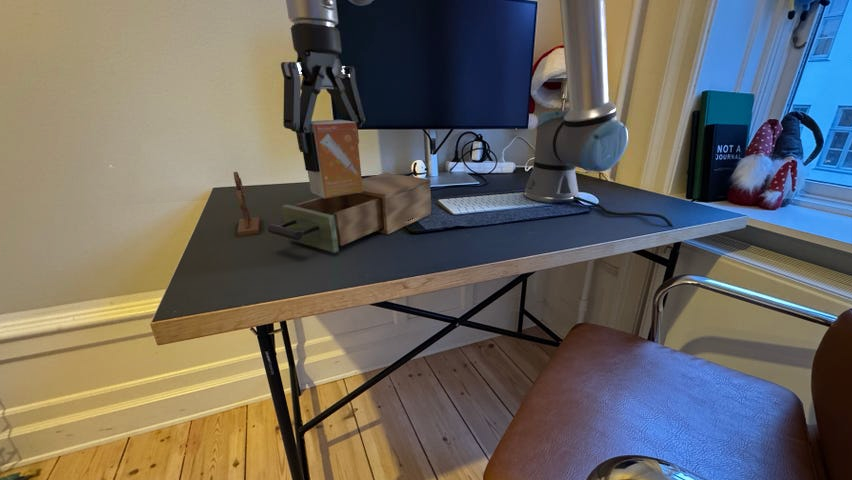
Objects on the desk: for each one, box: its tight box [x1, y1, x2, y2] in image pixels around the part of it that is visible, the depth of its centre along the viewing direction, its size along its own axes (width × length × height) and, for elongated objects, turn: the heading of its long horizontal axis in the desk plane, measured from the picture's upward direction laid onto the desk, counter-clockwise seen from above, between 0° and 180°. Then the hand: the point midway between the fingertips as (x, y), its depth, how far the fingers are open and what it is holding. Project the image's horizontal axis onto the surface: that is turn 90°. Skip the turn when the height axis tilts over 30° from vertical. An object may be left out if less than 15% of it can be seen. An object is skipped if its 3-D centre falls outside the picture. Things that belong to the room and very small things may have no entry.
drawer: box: [267, 193, 384, 254], centre depth 71 cm, size 21×12×7 cm, turn 151°
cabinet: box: [359, 172, 432, 235], centre depth 85 cm, size 17×14×9 cm
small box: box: [307, 119, 363, 198], centre depth 69 cm, size 8×6×13 cm
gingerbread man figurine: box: [233, 171, 261, 237], centre depth 77 cm, size 9×4×12 cm, turn 26°
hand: (334, 166), depth 70 cm, fingers closed on small box, 9 cm apart
